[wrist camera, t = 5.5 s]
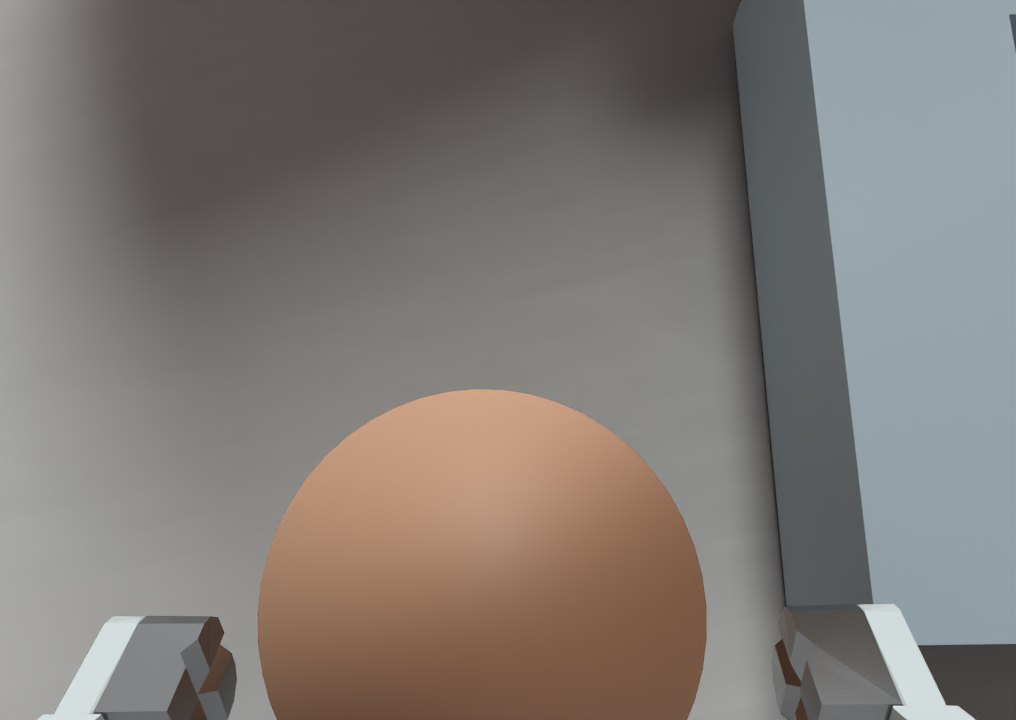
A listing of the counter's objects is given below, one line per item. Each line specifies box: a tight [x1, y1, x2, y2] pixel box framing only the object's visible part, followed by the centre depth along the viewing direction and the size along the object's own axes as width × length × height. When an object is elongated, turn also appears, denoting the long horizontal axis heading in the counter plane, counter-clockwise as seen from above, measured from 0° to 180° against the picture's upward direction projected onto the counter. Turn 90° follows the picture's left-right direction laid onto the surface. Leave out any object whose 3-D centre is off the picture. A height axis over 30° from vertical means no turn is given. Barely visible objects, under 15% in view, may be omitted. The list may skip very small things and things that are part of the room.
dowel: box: [258, 389, 706, 720], centre depth 14 cm, size 5×5×9 cm
